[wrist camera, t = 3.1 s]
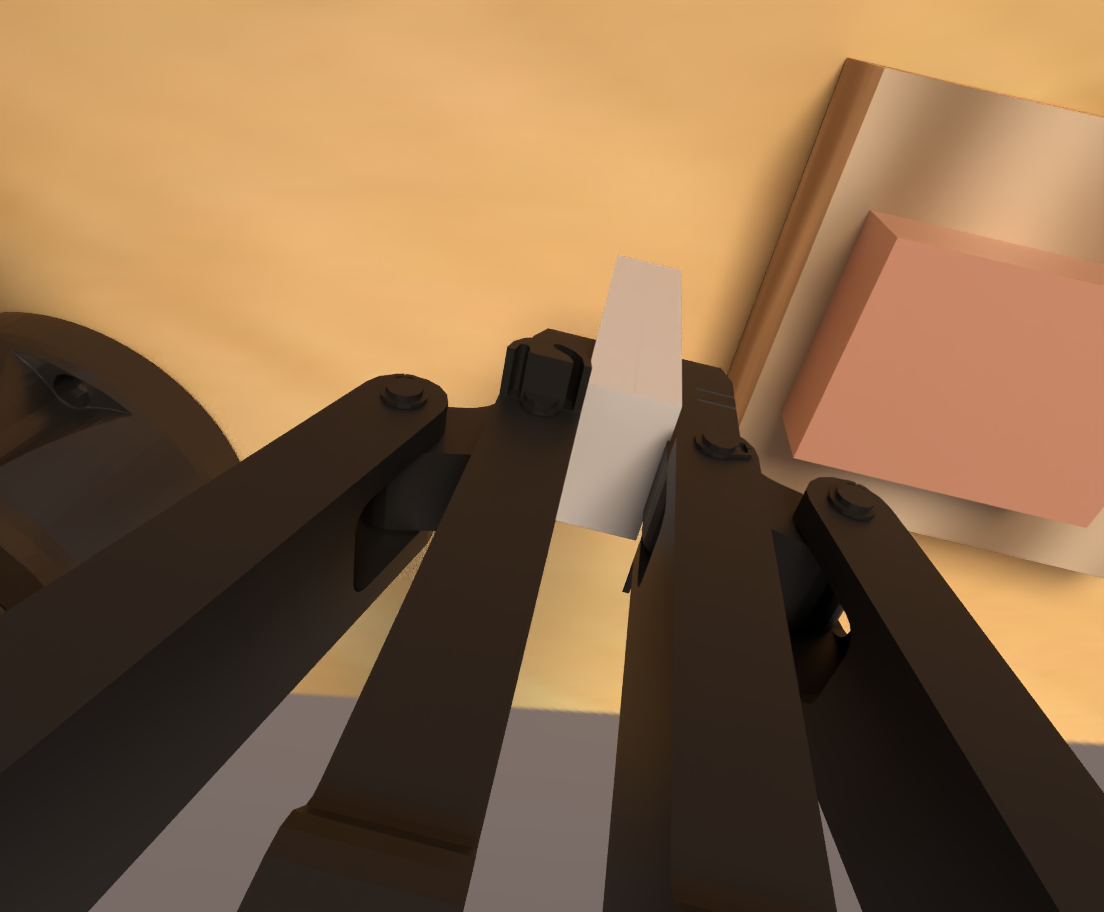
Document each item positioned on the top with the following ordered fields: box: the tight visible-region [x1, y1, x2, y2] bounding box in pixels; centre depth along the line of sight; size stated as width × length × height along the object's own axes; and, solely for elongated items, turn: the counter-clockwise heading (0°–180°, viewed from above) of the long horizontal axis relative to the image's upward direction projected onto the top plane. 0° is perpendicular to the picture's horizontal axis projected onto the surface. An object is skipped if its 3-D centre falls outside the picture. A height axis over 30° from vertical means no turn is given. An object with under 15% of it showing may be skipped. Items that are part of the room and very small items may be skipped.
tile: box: [781, 210, 1104, 528], centre depth 18 cm, size 8×6×2 cm
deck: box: [727, 58, 1104, 578], centre depth 21 cm, size 16×12×4 cm
